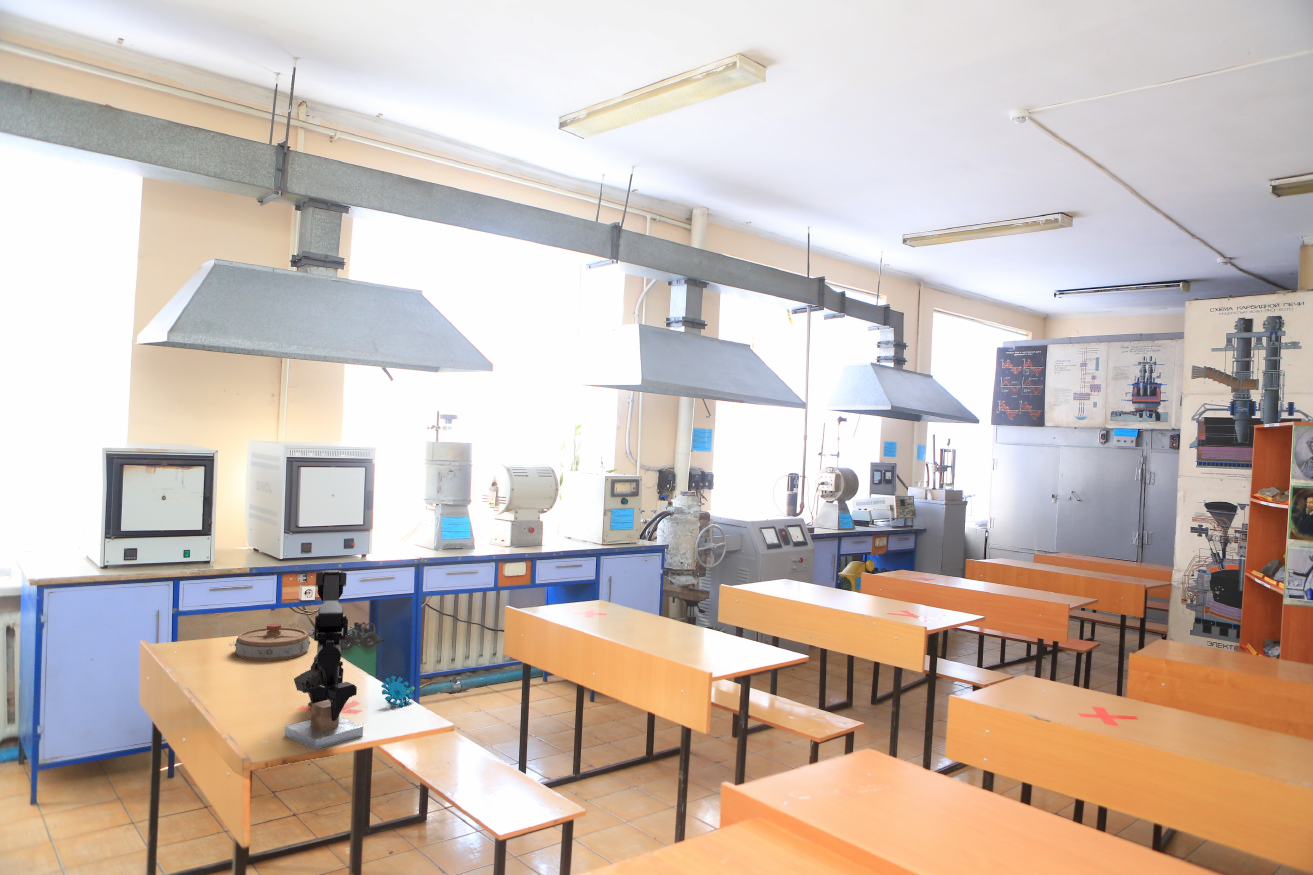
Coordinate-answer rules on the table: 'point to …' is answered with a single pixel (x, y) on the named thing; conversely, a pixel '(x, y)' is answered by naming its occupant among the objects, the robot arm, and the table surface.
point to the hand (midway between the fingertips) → (325, 716)
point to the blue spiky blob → (397, 691)
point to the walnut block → (322, 716)
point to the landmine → (272, 643)
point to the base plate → (323, 733)
